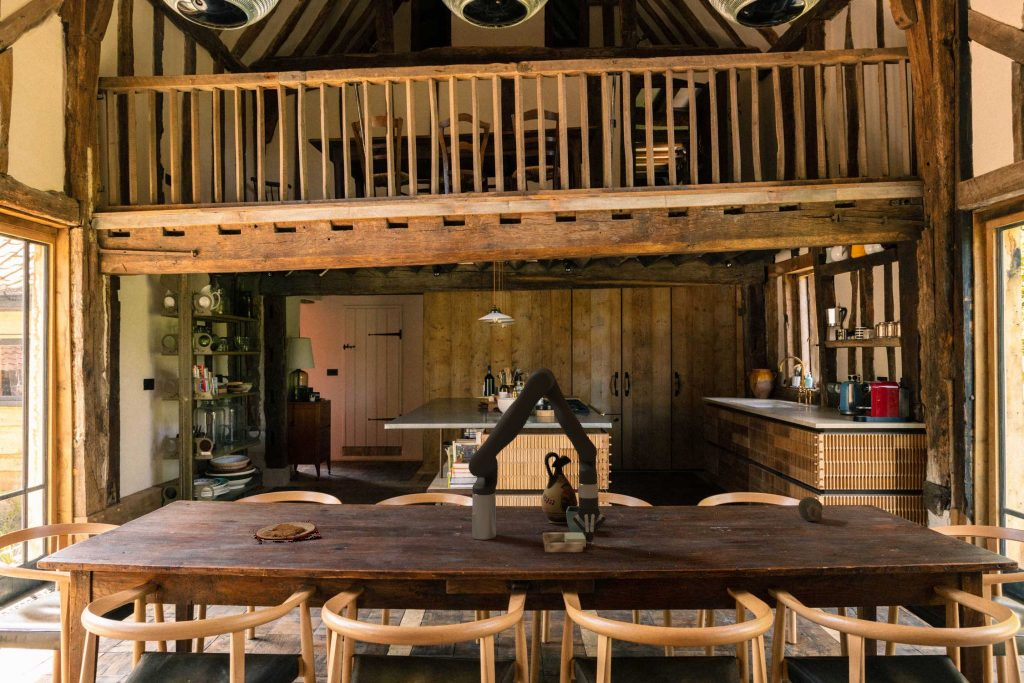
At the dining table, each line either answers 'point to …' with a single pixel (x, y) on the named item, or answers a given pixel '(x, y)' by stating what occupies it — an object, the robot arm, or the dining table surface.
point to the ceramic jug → (557, 491)
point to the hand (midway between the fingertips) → (589, 541)
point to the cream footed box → (575, 538)
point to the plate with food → (287, 531)
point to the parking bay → (560, 546)
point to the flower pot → (571, 524)
